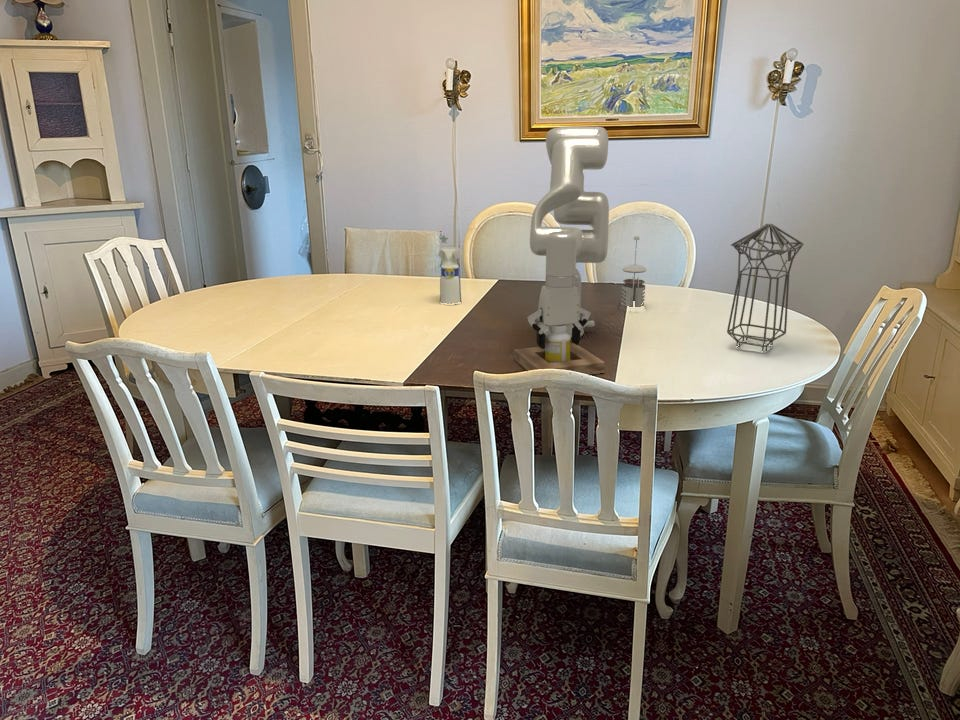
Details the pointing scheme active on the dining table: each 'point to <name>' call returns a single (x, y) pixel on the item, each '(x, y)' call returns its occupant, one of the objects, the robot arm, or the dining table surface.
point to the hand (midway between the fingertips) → (558, 345)
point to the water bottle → (450, 274)
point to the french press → (633, 285)
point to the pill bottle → (557, 344)
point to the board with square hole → (578, 356)
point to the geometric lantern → (781, 242)
